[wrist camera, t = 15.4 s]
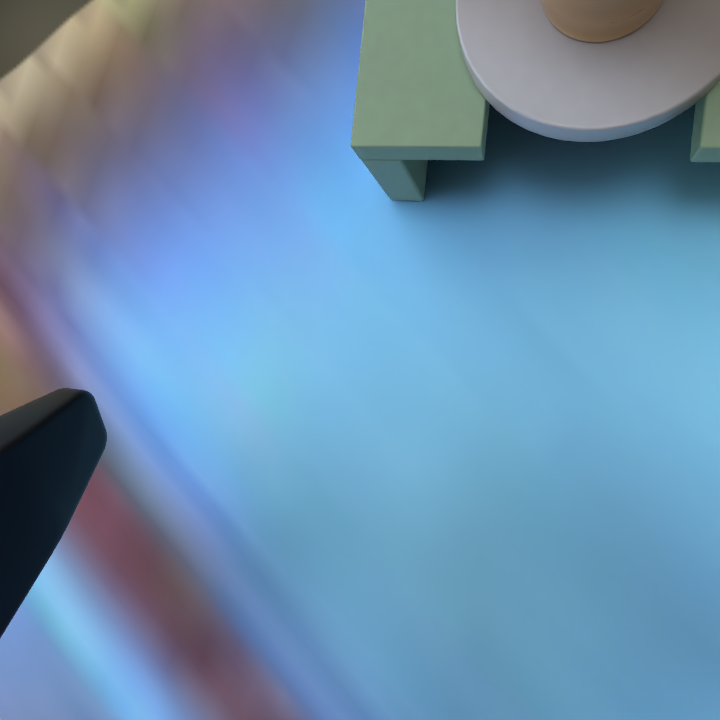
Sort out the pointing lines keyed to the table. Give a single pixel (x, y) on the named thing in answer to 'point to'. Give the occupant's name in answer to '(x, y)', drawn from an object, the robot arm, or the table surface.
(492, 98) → the cylinder on round base
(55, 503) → the robot arm
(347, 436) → the table surface
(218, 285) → the table surface
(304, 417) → the table surface
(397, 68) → the rack
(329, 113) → the table surface
